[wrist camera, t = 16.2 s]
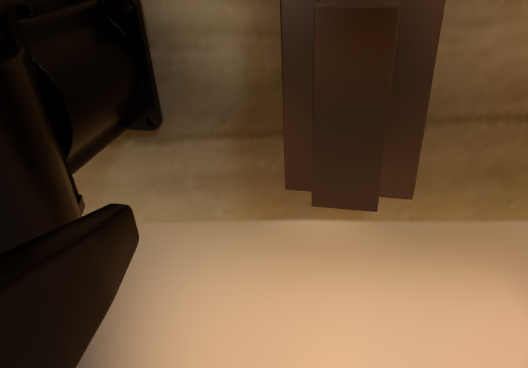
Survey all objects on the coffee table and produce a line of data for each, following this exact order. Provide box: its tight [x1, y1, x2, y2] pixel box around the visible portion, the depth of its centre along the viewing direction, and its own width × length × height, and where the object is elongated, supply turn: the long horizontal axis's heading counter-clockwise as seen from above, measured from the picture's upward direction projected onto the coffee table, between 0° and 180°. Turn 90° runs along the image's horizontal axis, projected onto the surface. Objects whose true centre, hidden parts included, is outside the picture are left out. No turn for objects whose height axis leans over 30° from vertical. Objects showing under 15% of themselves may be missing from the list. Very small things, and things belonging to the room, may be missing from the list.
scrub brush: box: [280, 0, 445, 212], centre depth 16 cm, size 10×6×6 cm, turn 3°
